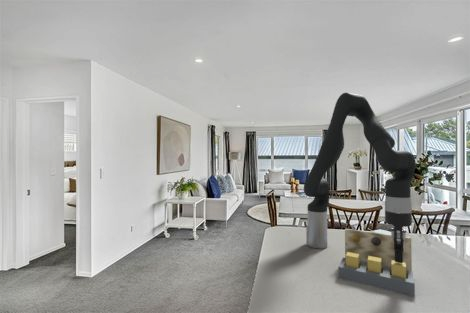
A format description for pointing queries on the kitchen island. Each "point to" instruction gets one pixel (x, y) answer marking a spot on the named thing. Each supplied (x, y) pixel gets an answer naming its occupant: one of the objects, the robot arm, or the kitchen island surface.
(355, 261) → the button left
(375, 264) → the button mid
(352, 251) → the card
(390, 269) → the board
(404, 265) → the button right
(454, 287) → the kitchen island surface
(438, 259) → the kitchen island surface
